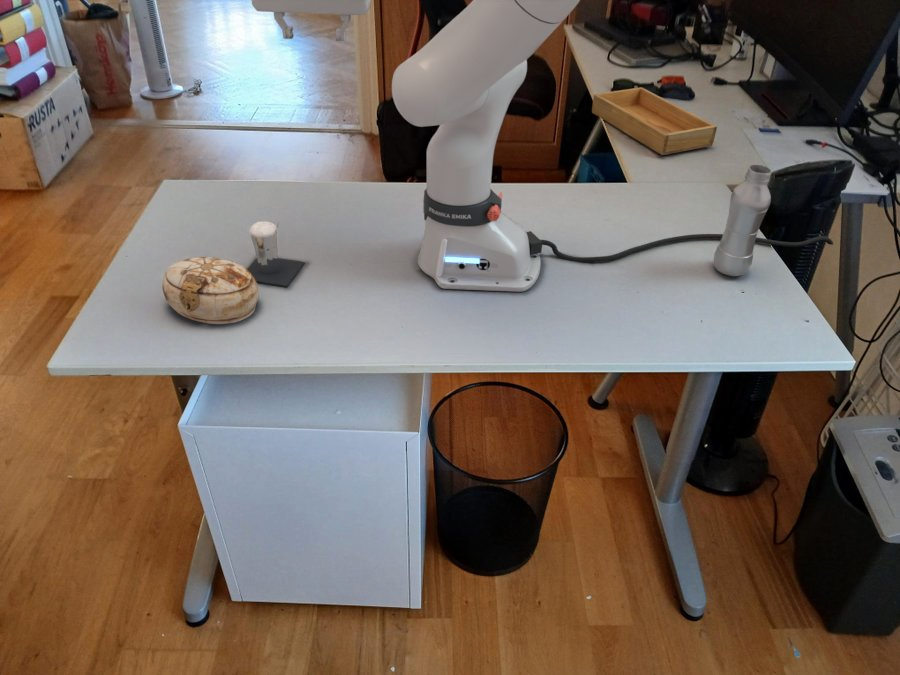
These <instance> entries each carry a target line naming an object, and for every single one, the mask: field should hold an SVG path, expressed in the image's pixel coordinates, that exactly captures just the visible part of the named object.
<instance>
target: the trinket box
mask: <svg viewBox="0 0 900 675" xmlns="http://www.w3.org/2000/svg"><path fill="white" fill-rule="evenodd" d="M161 286H162V292H163V296H164V299H165V300H166V302H167V303H168V304H169V306H170V307H171V308H172V310H174V311H175V312H176V313H177V314H179V315H180V316H182V317H184V318H187V319H189V320H191V321H196V322H199V323H204V324H209V325H226V324H235V323H238V322H241V321H242V320H246V319H247V318H249V317H250V316H252V315H253V313H254V312H255V310H256V305H257V302H258V301H259V294H260V293H259V292H260V291H259V285H258V283H257V282H256V280H255V278H254V277H253V276H252V274H251V273H250V272H249V271H248V270H247V268H246V267H245V266H243V265H241V264H239V263H237V262H234V261H232V260H228V259H225V258H219V257H215V256H213V257H212V256H211V257H210V256H196V257H190V258H185V259H182V260H179V261H177V262H175V263H172V264H171V265H170V266H168V268H167V269H166V270H165V273H164V275H163V277H162V283H161Z"/></svg>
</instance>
